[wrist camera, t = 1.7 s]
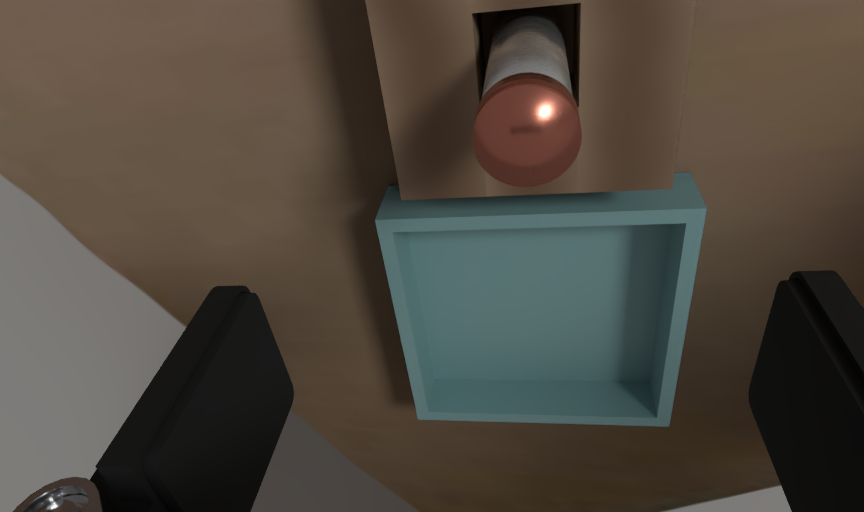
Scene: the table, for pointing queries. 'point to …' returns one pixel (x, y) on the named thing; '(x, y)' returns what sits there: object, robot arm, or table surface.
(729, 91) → the table surface
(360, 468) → the table surface
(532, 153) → the pin
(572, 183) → the block
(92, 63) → the table surface
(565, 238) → the tray
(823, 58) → the table surface
